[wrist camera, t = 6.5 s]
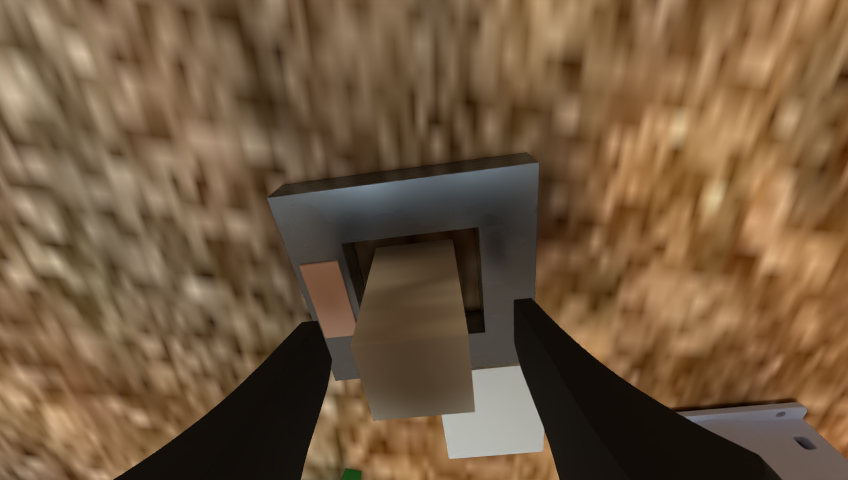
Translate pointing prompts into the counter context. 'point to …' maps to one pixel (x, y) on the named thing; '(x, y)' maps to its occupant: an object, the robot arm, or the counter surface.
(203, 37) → the counter surface
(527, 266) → the plate
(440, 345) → the birch peg
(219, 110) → the counter surface
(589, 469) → the robot arm
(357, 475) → the pipe clamp
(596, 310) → the counter surface
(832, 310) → the counter surface
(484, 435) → the white rectangular plate
